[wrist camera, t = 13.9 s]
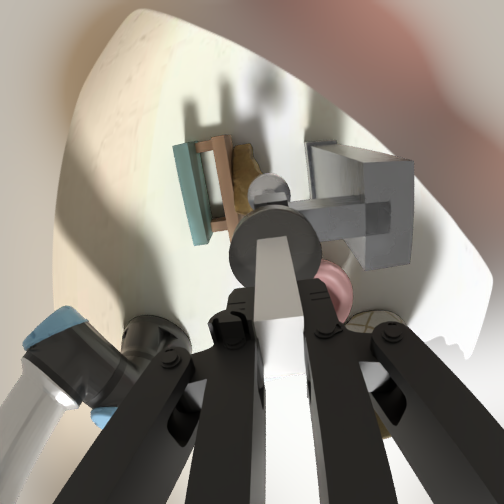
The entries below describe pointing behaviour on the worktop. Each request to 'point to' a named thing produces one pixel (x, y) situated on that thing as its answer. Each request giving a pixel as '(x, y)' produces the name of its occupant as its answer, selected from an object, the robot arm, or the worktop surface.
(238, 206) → the rock
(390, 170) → the press frame
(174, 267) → the worktop surface
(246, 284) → the ram
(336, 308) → the mortar and pestle
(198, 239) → the frame
